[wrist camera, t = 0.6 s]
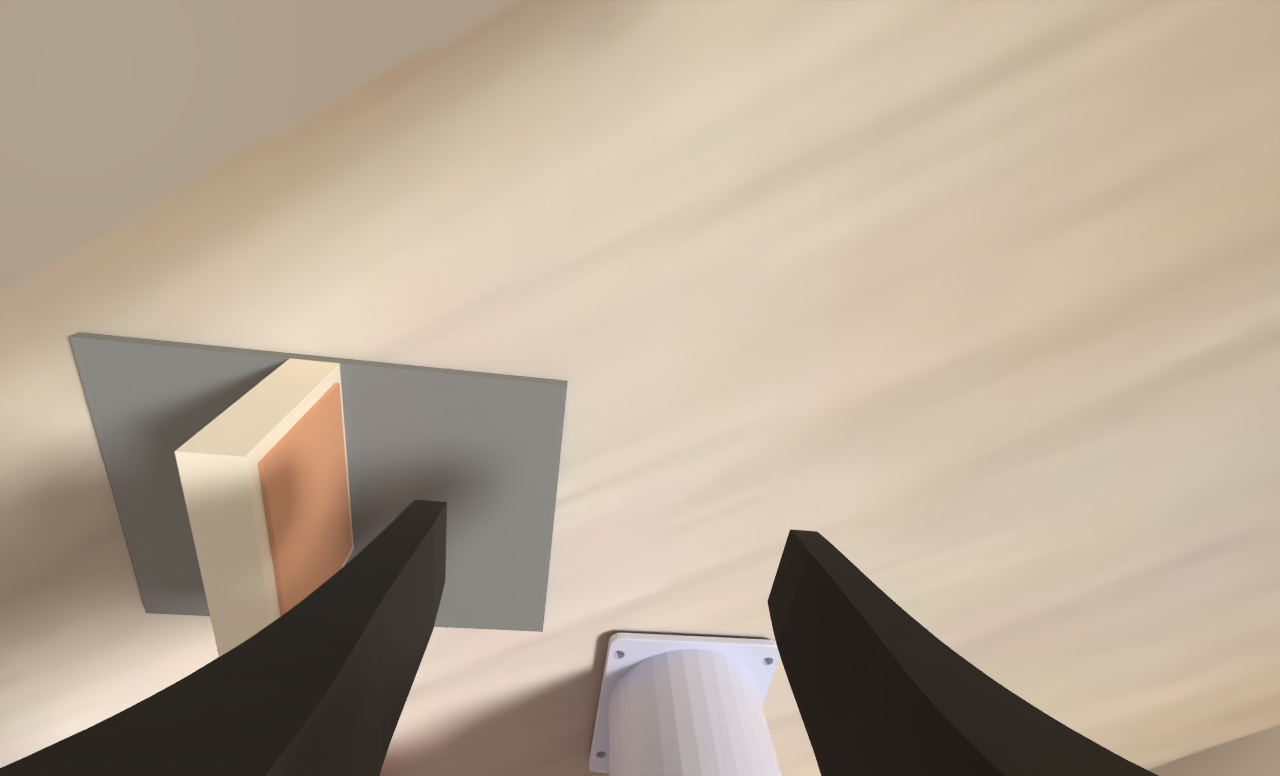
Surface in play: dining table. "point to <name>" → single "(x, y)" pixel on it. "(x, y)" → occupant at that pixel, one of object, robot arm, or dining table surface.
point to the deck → (269, 498)
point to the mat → (376, 458)
